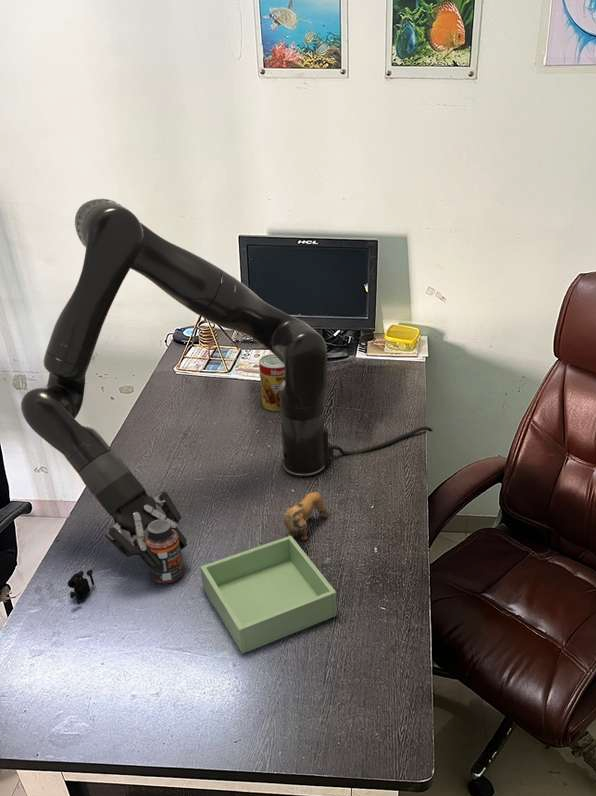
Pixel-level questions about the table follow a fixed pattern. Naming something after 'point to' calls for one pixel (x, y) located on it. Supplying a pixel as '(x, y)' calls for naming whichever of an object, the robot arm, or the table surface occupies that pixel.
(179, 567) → the supplement bottle
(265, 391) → the canned food
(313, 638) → the table surface
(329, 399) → the table surface
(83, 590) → the black animal figurine
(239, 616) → the desk bin
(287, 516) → the lion figurine
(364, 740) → the table surface
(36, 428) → the robot arm
